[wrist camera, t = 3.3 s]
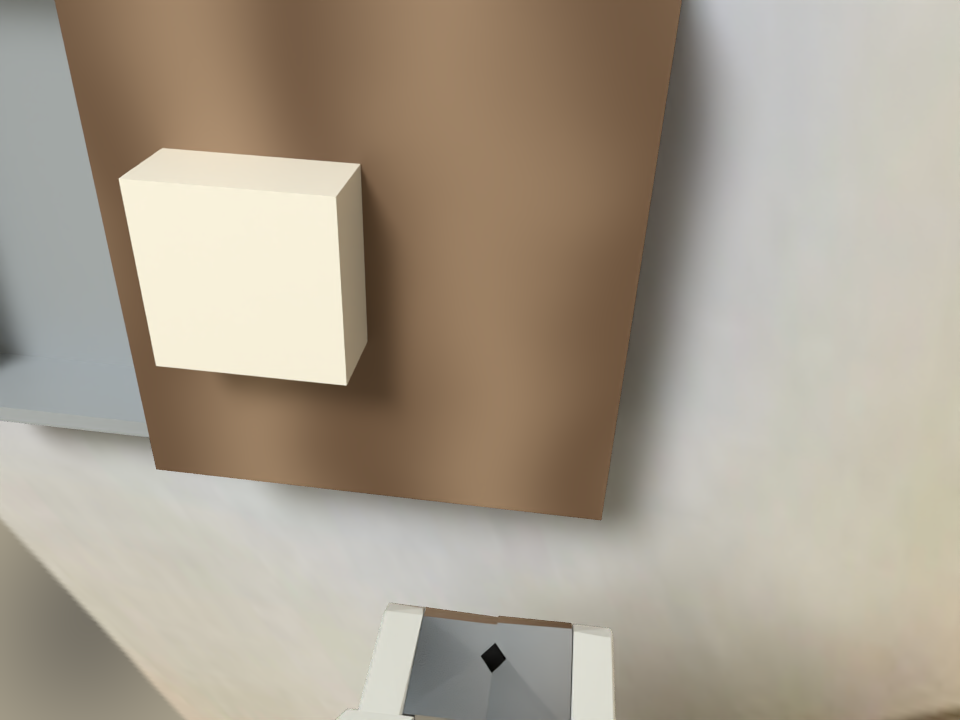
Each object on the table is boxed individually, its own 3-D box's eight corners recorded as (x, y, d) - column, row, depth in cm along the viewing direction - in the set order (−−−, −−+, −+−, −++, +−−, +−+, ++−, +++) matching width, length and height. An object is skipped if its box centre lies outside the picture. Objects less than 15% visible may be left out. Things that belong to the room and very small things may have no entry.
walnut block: (675, -94, 21) (693, -77, 17) (601, 422, 29) (601, 520, 25) (139, -121, 22) (30, -112, 18) (217, 382, 31) (156, 469, 26)
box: (128, -122, 22) (55, -116, 19) (210, 381, 31) (168, 439, 28) (-166, -137, 23) (-279, -134, 20) (-6, 358, 31) (-69, 413, 28)
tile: (360, 163, 20) (336, 196, 18) (367, 341, 23) (346, 385, 21) (162, 148, 21) (118, 178, 19) (191, 324, 23) (156, 365, 21)
